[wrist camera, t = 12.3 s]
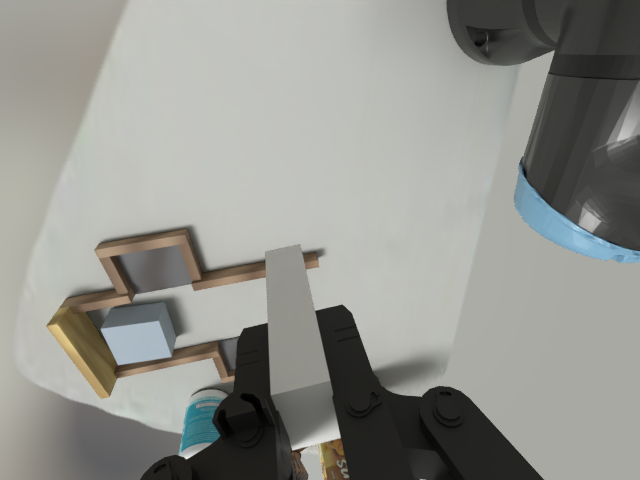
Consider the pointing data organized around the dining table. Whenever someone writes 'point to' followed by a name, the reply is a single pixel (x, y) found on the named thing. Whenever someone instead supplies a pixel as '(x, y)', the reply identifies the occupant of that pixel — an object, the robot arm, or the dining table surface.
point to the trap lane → (140, 277)
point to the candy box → (333, 460)
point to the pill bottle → (200, 422)
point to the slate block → (139, 333)
